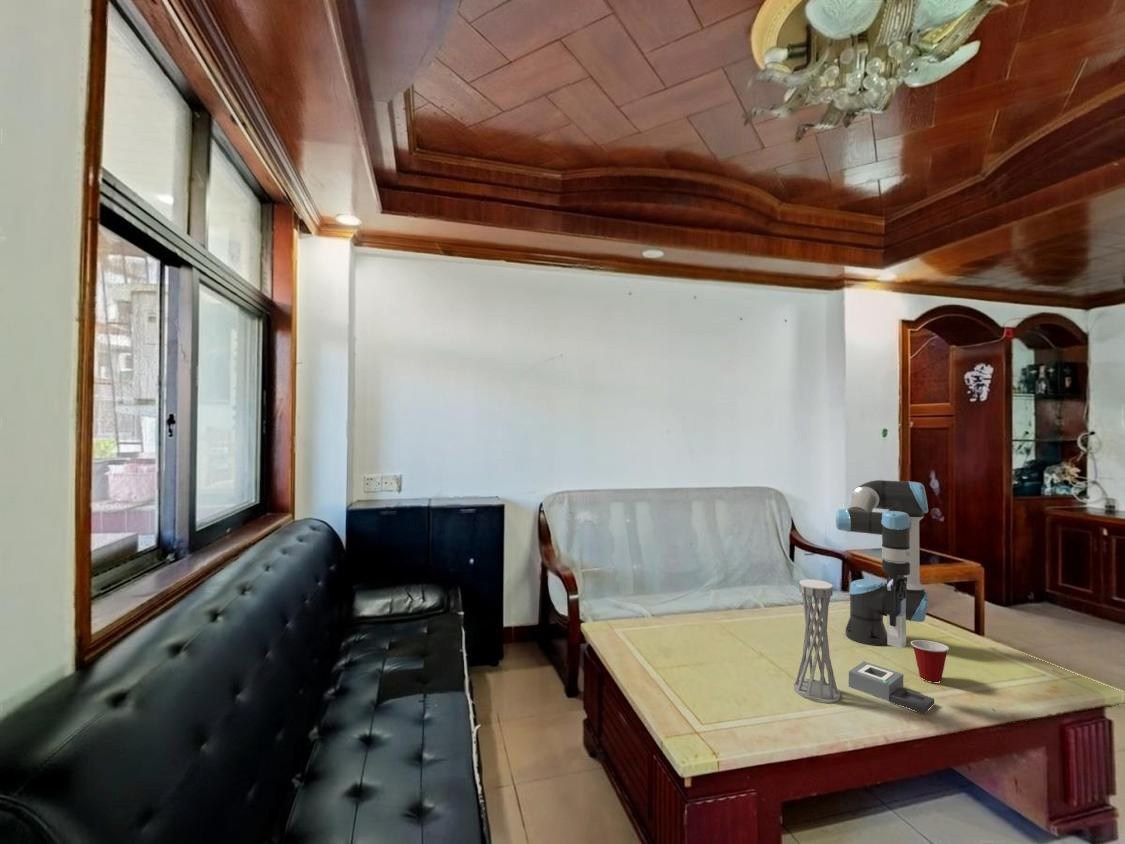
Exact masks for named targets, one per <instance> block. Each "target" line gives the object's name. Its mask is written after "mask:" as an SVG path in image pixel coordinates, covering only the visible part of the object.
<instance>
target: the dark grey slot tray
mask: <svg viewBox="0 0 1125 844" xmlns="http://www.w3.org/2000/svg"><path fill="white" fill-rule="evenodd" d="M890 702H893V703H895V704H894V705H896V704H898V705H901V706H904V707H907V708H910V709H912V710H915V711H917V712H920V713H922V714H921V715H923V714H925V713H926V712H927V711H928V709H929V708H930V707H931V706H932V705H933V704H934V705H935V698H934V697H931V696H927V695H925V694H922V693H918V692H917V691H913V690H910V689H908V688H905V687H903V688H902V687H901V688H900V689H898V690H897V691H896V692H895V693H894V694H892V695H891V696H890V701H889V703H890ZM893 703H892V704H893ZM898 705H897V706H898ZM901 706H900V707H901ZM904 707H903V708H904ZM912 710H911V711H912ZM917 712H916V713H917ZM928 712H929V711H928ZM928 712H927V713H928ZM920 713H919V714H920ZM927 713H926V714H927ZM926 714H925V715H926Z"/></svg>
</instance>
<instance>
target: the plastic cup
mask: <svg viewBox="0 0 1125 844" xmlns="http://www.w3.org/2000/svg"><path fill="white" fill-rule="evenodd" d="M910 645H911V646H912V649H913V652H914V657H915V661H916V664H917V665H916V666H917V669H918V674H919V677H921V678H923V679H925V680H927V681H931V682H939V681H941V682H942V678H943V674H944V671H945V663H946V659H947V656H948V652H949V650H950V647H949V646H948V645H946V644H944V643H940V642H937V641H933V640H932V641H931V640H925V639H923V640H922V639H915V640H912V641H910ZM921 678H920V679H921Z"/></svg>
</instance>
